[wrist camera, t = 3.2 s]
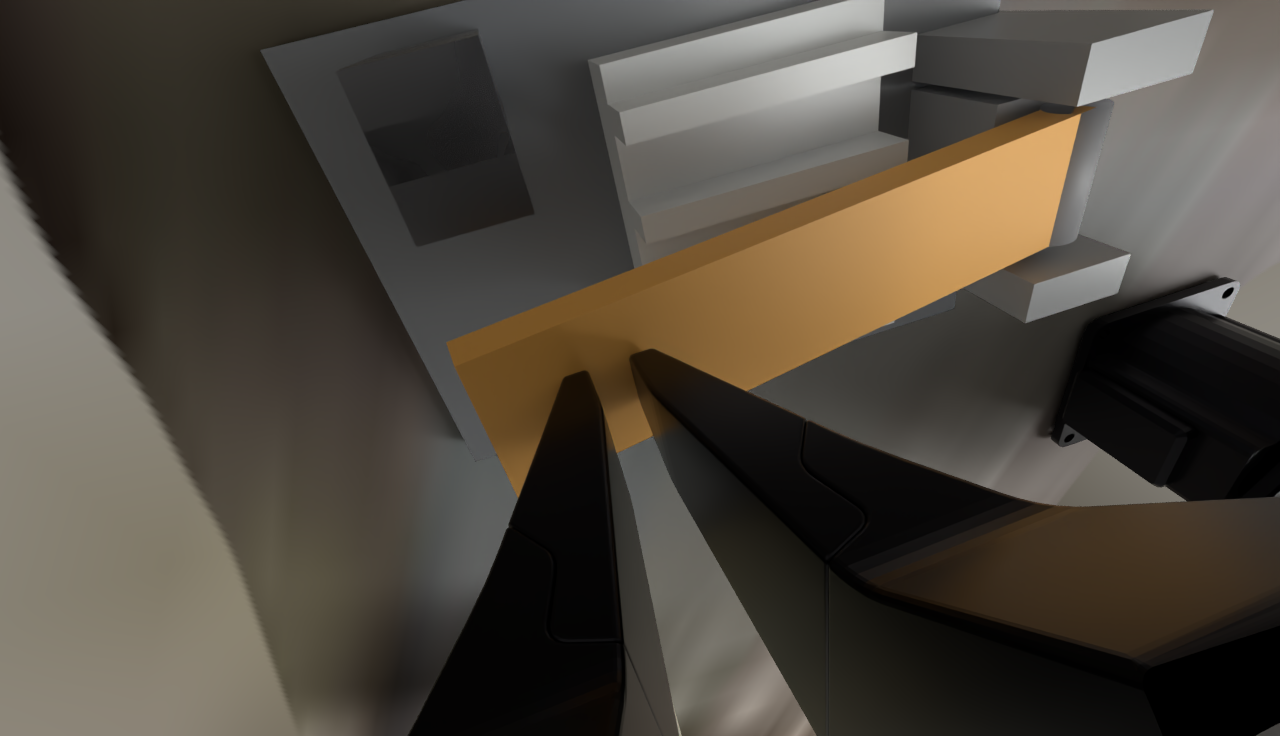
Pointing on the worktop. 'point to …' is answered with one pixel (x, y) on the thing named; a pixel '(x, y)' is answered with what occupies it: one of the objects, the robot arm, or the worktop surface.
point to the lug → (439, 136)
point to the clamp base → (712, 134)
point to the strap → (791, 279)
